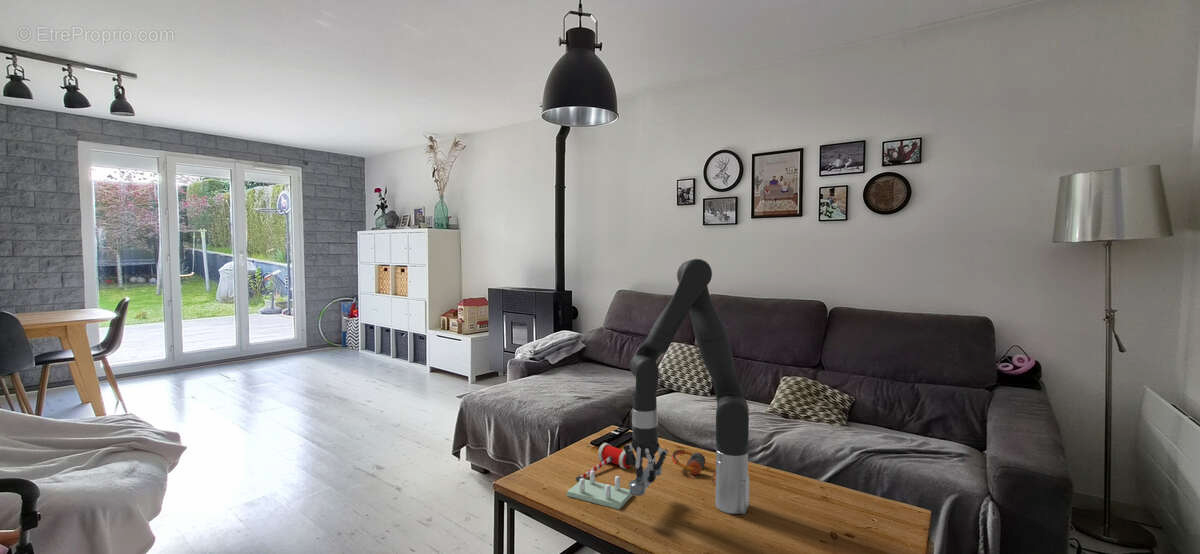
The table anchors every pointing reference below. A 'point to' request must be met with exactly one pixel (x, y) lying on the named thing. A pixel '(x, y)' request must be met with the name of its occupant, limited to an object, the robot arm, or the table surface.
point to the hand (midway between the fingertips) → (646, 480)
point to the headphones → (692, 462)
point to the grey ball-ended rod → (642, 482)
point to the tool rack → (600, 492)
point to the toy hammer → (609, 458)
